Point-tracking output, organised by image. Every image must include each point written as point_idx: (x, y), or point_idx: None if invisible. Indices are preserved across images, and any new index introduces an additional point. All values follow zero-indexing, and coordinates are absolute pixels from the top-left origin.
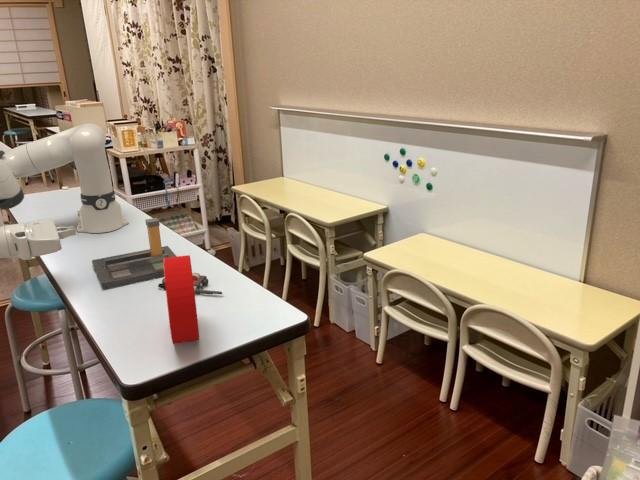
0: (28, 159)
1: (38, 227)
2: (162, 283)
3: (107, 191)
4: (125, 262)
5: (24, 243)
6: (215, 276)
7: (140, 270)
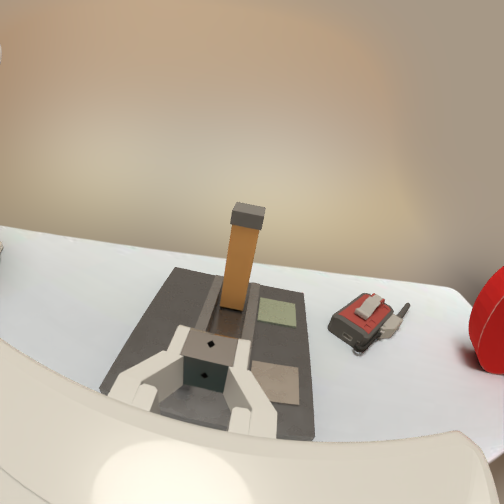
0: None
1: (13, 490)
2: (363, 341)
3: None
4: None
5: None
6: (339, 289)
7: (278, 346)
